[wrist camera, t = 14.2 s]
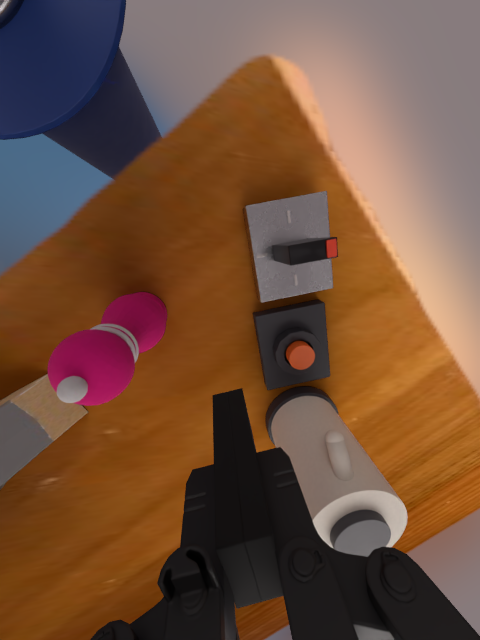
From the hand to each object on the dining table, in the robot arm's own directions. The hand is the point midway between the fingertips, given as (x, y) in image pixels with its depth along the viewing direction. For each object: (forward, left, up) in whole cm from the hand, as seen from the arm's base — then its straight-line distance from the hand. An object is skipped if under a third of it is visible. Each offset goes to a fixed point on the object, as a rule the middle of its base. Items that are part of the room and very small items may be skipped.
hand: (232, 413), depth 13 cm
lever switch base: (-6, +11, -24) cm, 27 cm away
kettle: (+22, +10, -24) cm, 34 cm away
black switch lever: (-6, +11, -21) cm, 24 cm away
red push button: (+8, +10, -21) cm, 24 cm away
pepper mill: (-1, -10, -25) cm, 27 cm away
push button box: (+8, +10, -24) cm, 27 cm away
